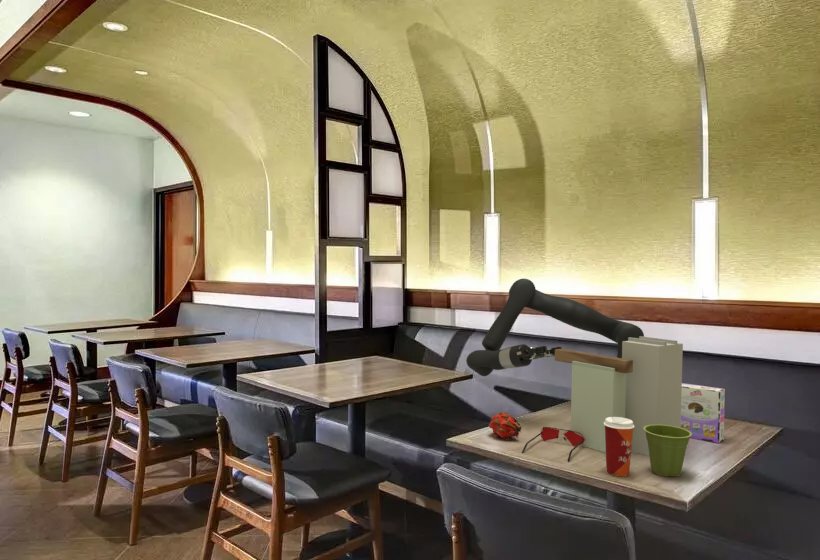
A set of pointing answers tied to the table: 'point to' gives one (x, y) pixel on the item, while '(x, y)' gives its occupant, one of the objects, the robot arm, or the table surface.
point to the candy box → (703, 412)
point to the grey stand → (652, 386)
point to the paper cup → (618, 445)
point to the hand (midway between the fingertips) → (554, 349)
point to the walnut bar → (594, 360)
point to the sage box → (595, 401)
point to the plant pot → (667, 448)
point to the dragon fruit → (504, 425)
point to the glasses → (550, 433)
